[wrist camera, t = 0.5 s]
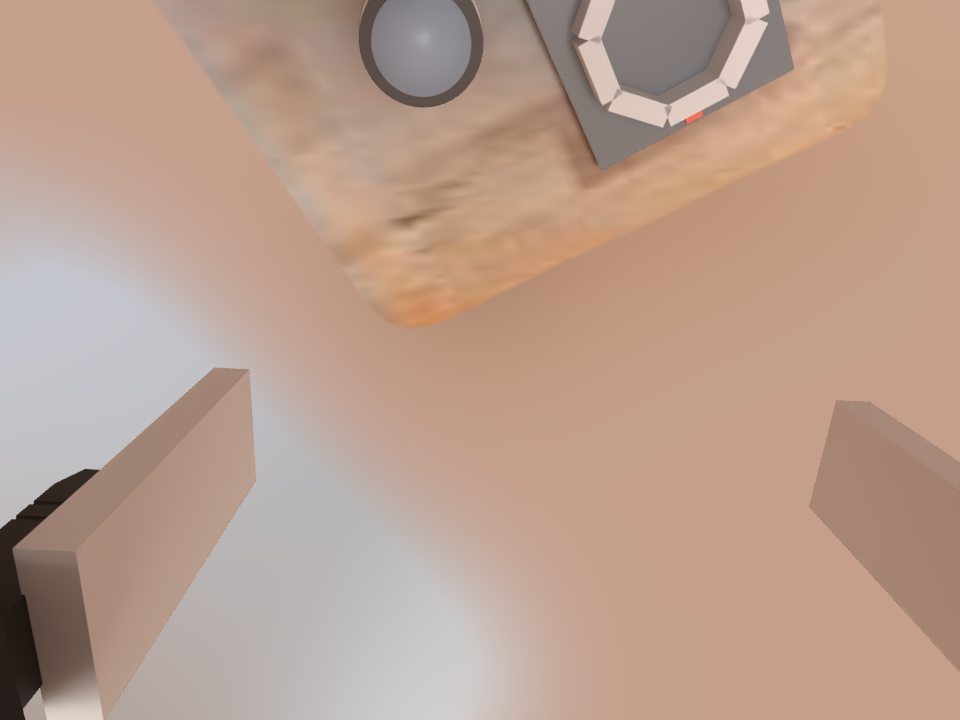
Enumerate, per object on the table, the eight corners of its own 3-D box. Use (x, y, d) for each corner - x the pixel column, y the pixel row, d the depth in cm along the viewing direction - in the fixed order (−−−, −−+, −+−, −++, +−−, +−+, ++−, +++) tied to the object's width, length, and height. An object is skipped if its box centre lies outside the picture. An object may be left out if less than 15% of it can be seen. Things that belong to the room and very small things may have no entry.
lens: (353, -19, 34) (329, 16, 25) (439, -76, 33) (445, -60, 24) (408, 75, 37) (403, 137, 28) (487, 26, 36) (509, 74, 27)
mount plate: (512, -30, 35) (519, -23, 32) (731, -167, 32) (758, -172, 29) (597, 164, 41) (609, 182, 39) (785, 64, 38) (810, 77, 36)
